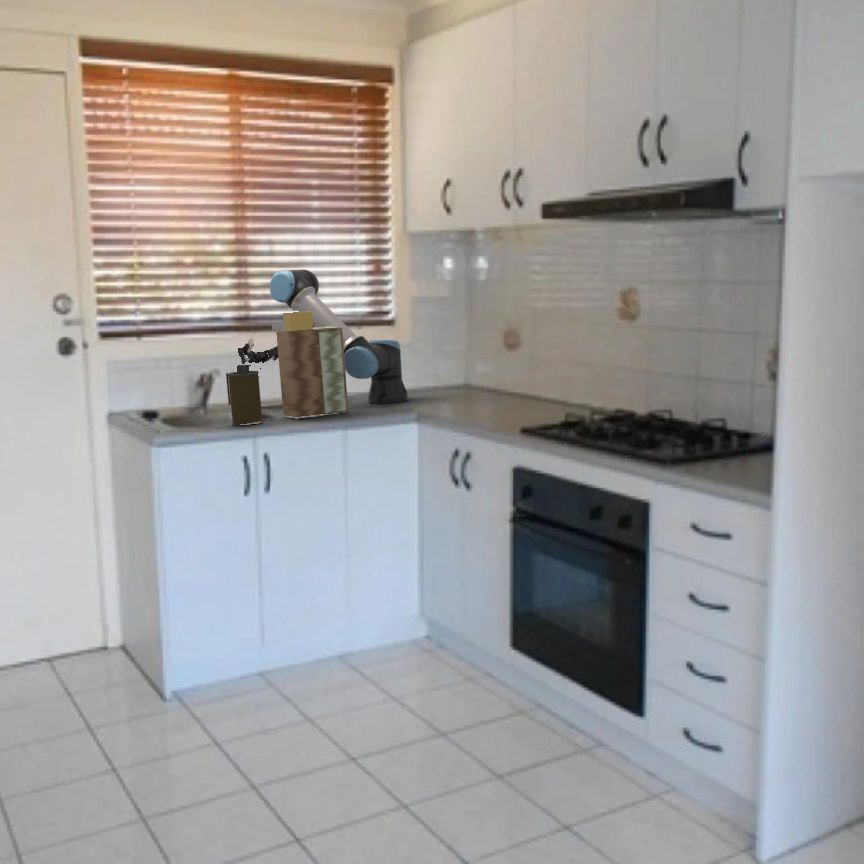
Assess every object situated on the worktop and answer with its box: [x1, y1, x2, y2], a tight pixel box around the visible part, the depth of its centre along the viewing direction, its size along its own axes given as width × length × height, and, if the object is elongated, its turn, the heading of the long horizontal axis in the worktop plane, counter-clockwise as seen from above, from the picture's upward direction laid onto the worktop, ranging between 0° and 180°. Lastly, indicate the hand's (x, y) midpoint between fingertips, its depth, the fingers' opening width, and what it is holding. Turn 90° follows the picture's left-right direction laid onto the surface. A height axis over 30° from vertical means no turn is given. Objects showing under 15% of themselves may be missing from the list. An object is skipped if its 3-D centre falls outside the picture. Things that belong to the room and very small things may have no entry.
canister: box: [225, 365, 263, 426], centre depth 344 cm, size 11×10×20 cm
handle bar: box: [271, 312, 314, 331], centre depth 355 cm, size 8×24×6 cm, turn 31°
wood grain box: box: [276, 327, 349, 417], centre depth 354 cm, size 20×11×30 cm, turn 121°
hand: (270, 339), depth 371 cm, fingers open, 13 cm apart
